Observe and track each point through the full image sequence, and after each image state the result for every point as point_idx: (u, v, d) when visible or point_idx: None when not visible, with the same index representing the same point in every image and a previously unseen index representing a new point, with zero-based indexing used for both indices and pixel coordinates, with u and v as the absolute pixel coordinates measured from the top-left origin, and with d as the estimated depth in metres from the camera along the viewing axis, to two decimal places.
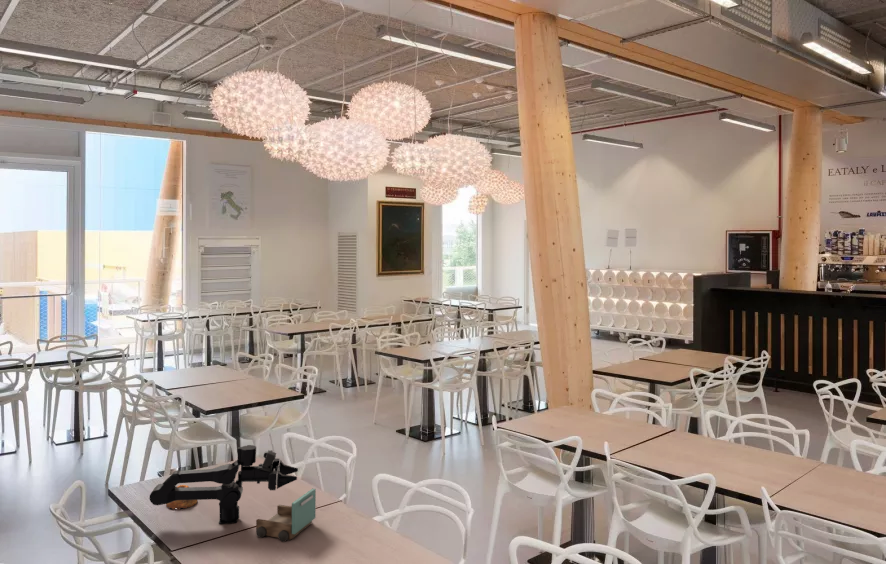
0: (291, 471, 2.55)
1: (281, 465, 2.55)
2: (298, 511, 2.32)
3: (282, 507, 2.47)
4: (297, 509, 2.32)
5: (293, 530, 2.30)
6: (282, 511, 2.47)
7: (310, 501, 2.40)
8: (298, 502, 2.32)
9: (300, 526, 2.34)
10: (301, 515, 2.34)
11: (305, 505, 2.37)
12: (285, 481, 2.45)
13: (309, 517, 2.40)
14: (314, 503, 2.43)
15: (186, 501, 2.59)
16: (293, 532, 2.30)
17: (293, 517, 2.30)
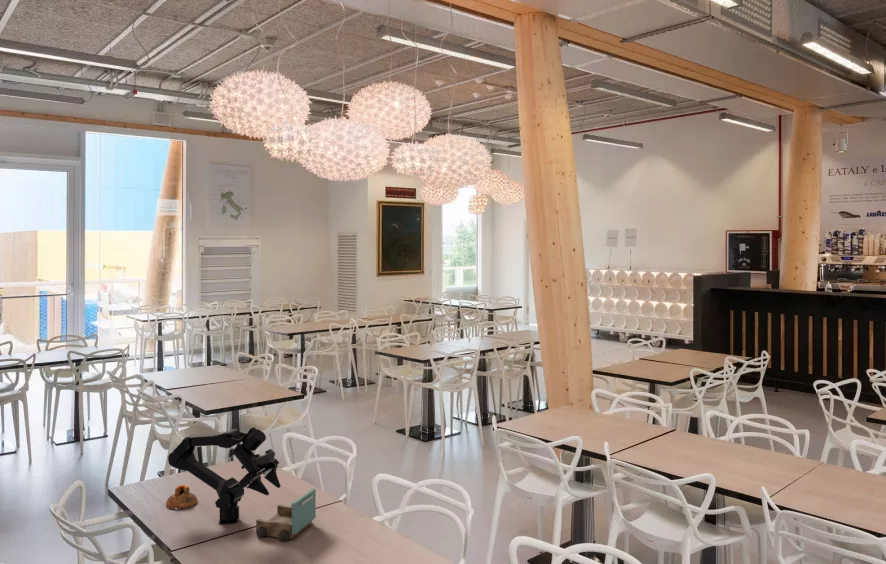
0: (274, 483, 2.45)
1: (272, 471, 2.46)
2: (298, 511, 2.32)
3: (282, 507, 2.47)
4: (297, 509, 2.32)
5: (293, 530, 2.30)
6: (282, 511, 2.47)
7: (310, 501, 2.40)
8: (298, 502, 2.32)
9: (300, 526, 2.34)
10: (301, 515, 2.34)
11: (305, 505, 2.37)
12: (257, 488, 2.37)
13: (309, 517, 2.40)
14: (314, 503, 2.43)
15: (186, 501, 2.59)
16: (293, 532, 2.30)
17: (293, 517, 2.30)
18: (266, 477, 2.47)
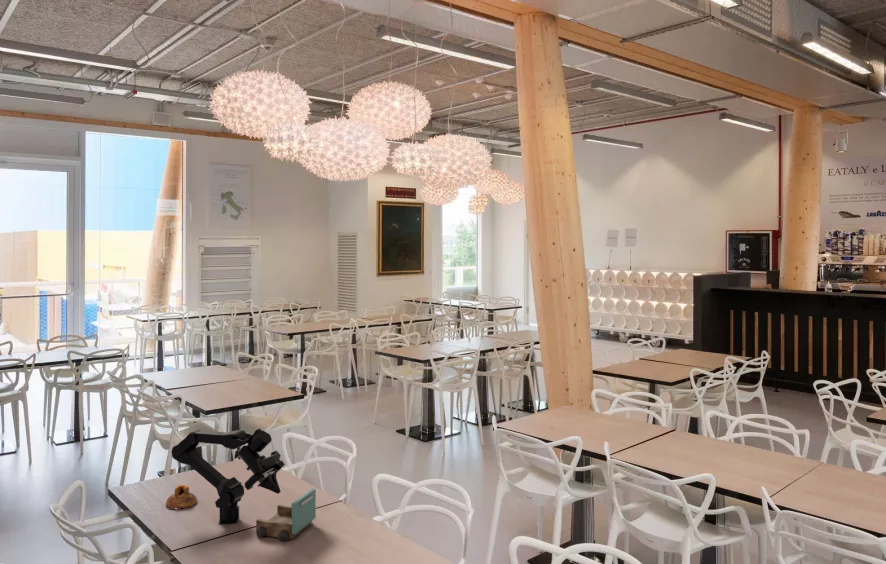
0: None
1: (272, 476, 2.41)
2: (298, 511, 2.32)
3: (282, 507, 2.47)
4: (297, 509, 2.32)
5: (293, 530, 2.30)
6: (282, 511, 2.47)
7: (310, 501, 2.40)
8: (298, 502, 2.32)
9: (300, 526, 2.34)
10: (301, 515, 2.34)
11: (305, 505, 2.37)
12: (268, 486, 2.40)
13: (309, 517, 2.40)
14: (314, 503, 2.43)
15: (186, 501, 2.59)
16: (293, 532, 2.30)
17: (293, 517, 2.30)
18: None
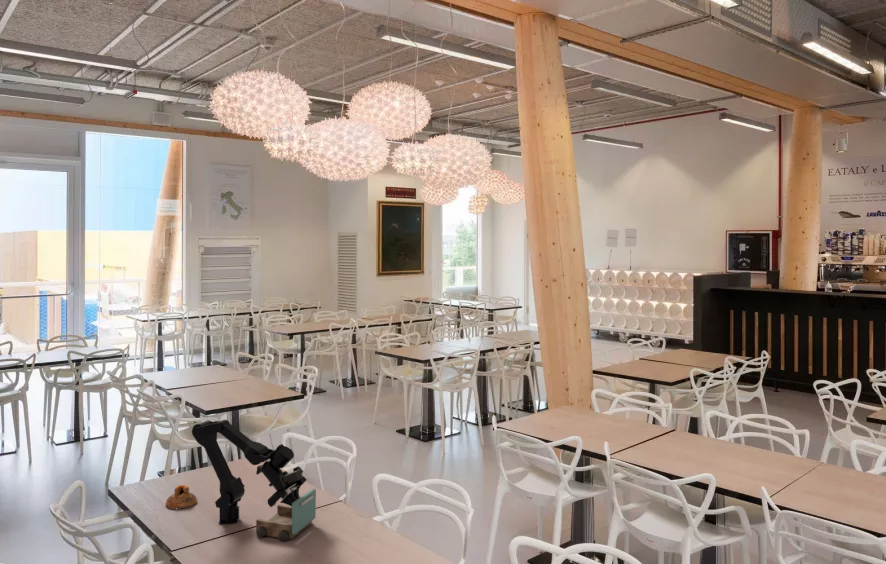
0: None
1: (294, 492, 2.39)
2: (298, 511, 2.32)
3: (282, 507, 2.47)
4: (297, 509, 2.32)
5: (293, 530, 2.30)
6: (282, 511, 2.47)
7: (310, 501, 2.40)
8: (298, 502, 2.32)
9: (300, 526, 2.34)
10: (301, 515, 2.34)
11: (305, 505, 2.37)
12: (291, 503, 2.37)
13: (309, 517, 2.40)
14: (314, 503, 2.43)
15: (186, 501, 2.59)
16: (293, 532, 2.30)
17: (293, 517, 2.30)
18: None
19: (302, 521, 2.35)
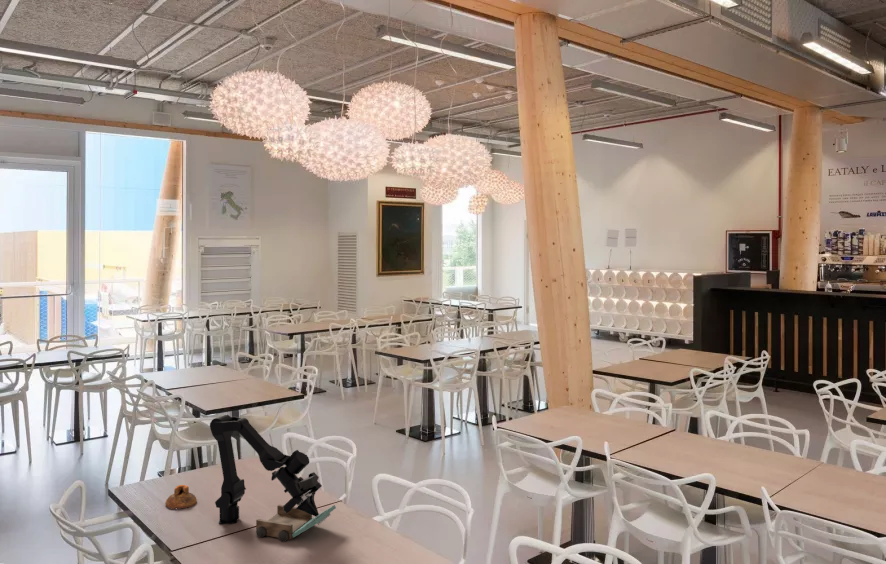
0: None
1: (310, 498, 2.37)
2: None
3: (282, 507, 2.47)
4: None
5: (295, 534, 2.30)
6: (282, 511, 2.47)
7: None
8: (318, 521, 2.30)
9: None
10: None
11: None
12: (307, 509, 2.35)
13: None
14: None
15: (185, 501, 2.59)
16: (293, 535, 2.30)
17: (305, 528, 2.29)
18: None
19: None
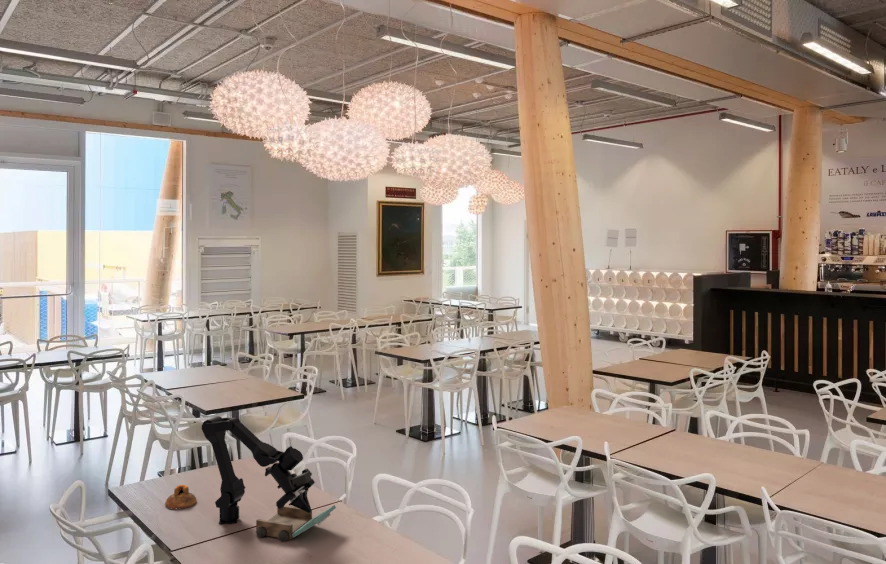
0: None
1: (303, 494, 2.38)
2: None
3: None
4: None
5: (295, 534, 2.30)
6: (282, 511, 2.47)
7: None
8: (318, 521, 2.30)
9: None
10: None
11: None
12: (299, 505, 2.36)
13: None
14: None
15: (185, 501, 2.59)
16: (293, 535, 2.30)
17: (305, 528, 2.29)
18: None
19: None
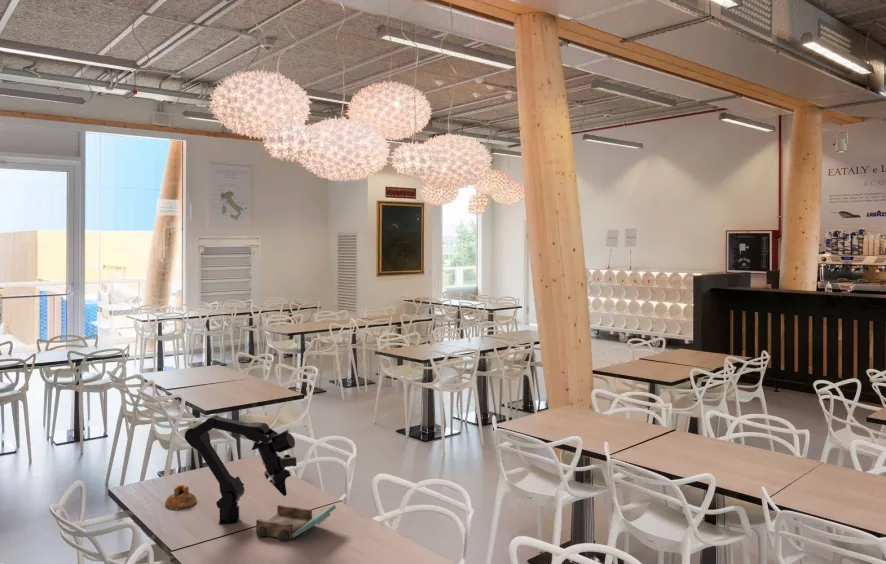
0: None
1: None
2: None
3: (282, 507, 2.47)
4: None
5: (295, 534, 2.30)
6: (282, 511, 2.47)
7: None
8: (318, 521, 2.30)
9: None
10: None
11: None
12: (279, 486, 2.42)
13: None
14: None
15: (185, 501, 2.59)
16: (293, 535, 2.30)
17: (305, 528, 2.29)
18: None
19: None
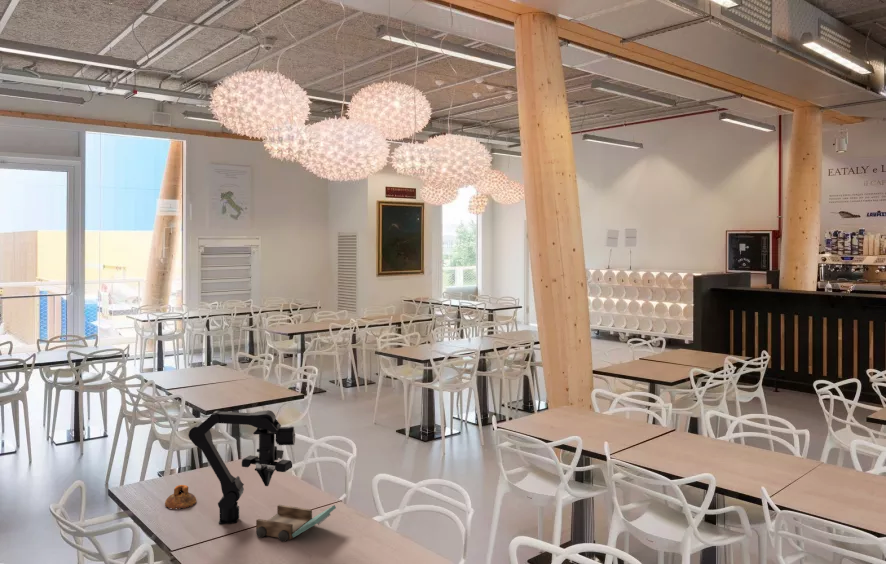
0: None
1: None
2: None
3: (282, 507, 2.47)
4: None
5: (295, 534, 2.30)
6: (282, 511, 2.47)
7: None
8: (318, 521, 2.30)
9: None
10: None
11: None
12: (269, 476, 2.46)
13: None
14: None
15: (185, 501, 2.59)
16: (293, 535, 2.30)
17: (305, 528, 2.29)
18: (262, 471, 2.46)
19: None
